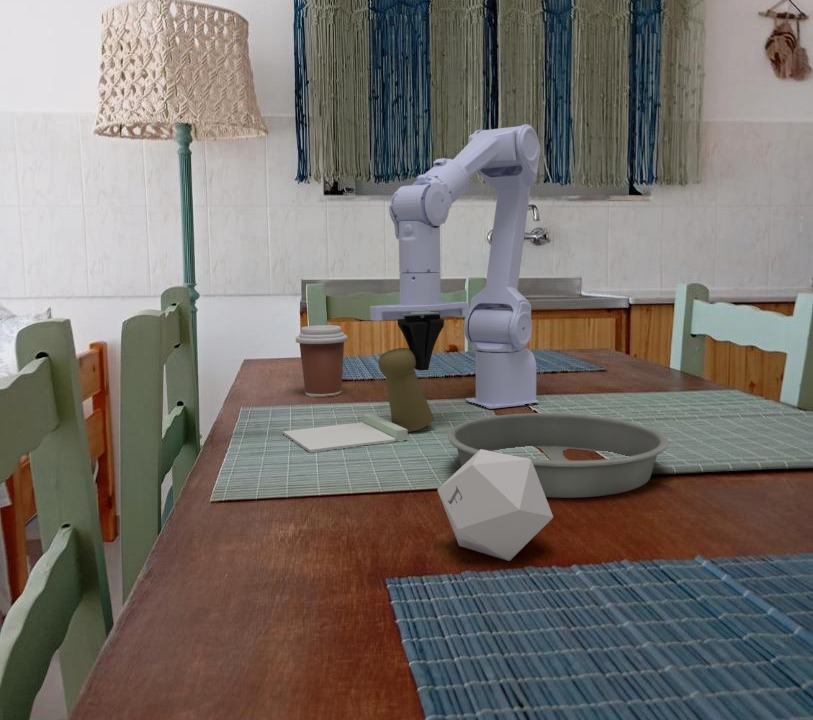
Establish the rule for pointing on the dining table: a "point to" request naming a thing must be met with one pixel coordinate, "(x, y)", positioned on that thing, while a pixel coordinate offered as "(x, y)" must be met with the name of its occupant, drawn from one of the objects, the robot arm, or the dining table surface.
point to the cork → (405, 390)
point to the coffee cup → (322, 359)
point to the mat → (337, 437)
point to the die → (495, 503)
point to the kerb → (386, 426)
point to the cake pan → (560, 435)
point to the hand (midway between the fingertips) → (421, 369)
